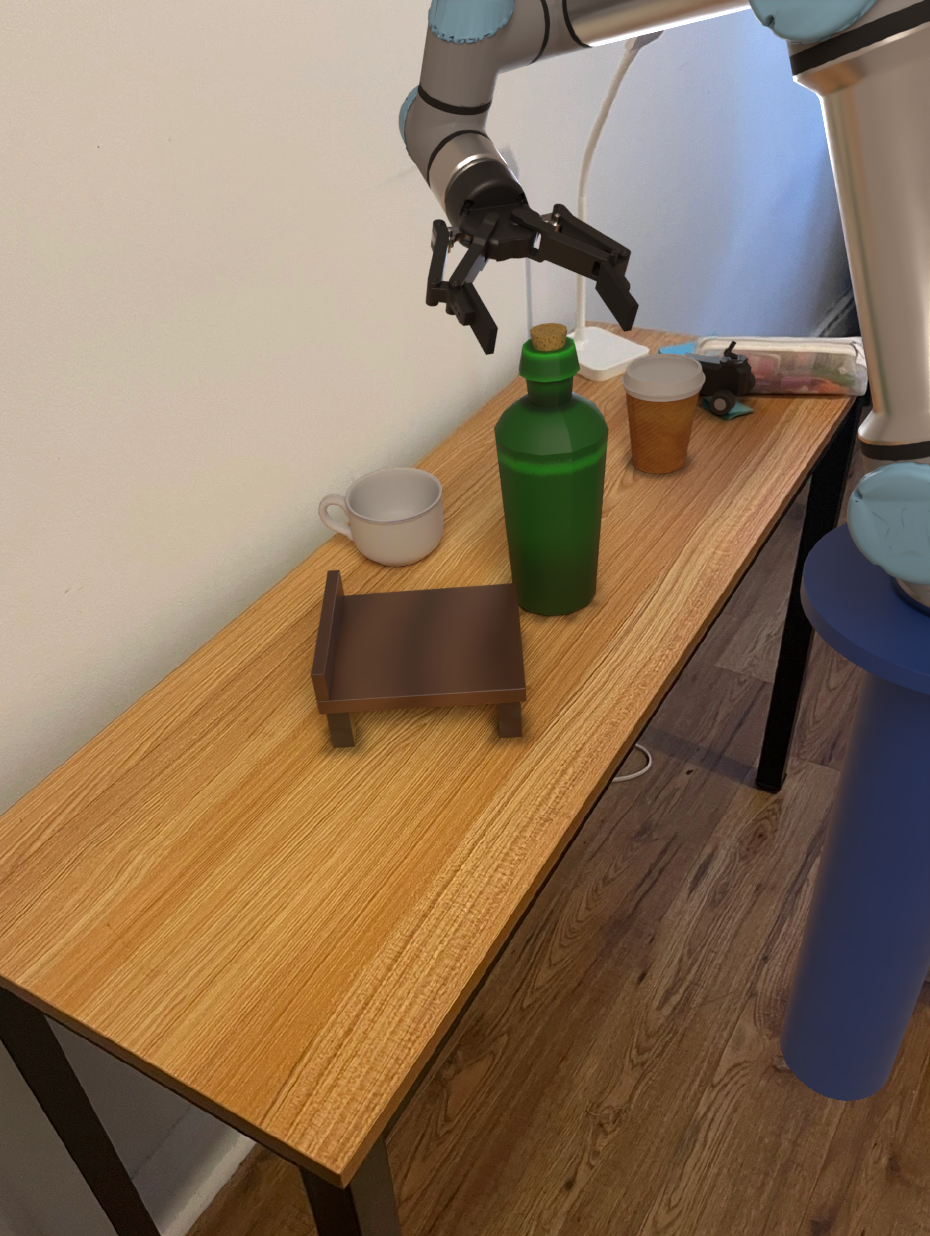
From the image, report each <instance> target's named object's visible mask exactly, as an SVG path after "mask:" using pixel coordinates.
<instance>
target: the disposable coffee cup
mask: <svg viewBox="0 0 930 1236" xmlns="http://www.w3.org/2000/svg"><path fill="white" fill-rule="evenodd" d="M704 383H705V375H704V373H703V371H702V366H701V364H700V363H699V361H697V360H695V359H694V358H691V357H688V356H685V355H684V354H679V353H654V354H647V355H644V356H641V357H638V358H636V359H633V360H632V361H630V362H629V363H628V364H627V366H626V367H625V372H624V374H623V375H622V376H621V385H622V387H623V390H624V391H625V396H626V397H625V399H626V407H627V418H628V420H627V421H628V428H629V437H630V447H631V457H632V459H631V460H632V465H633V466H634V467H635V468H636V469H637V470H639V471H641V472H643V473H647V474H653V475H654V474H655V475H657V474H659V475H660V474H662V475H663V474H669V473H673V472H675V471H678V470H680V469H681V468H683V467H684V466H685V463H686V458H687V453H688V449H689V443H690V439H691V435H692V430H693V425H694V420H695V415H696V410H697V406H698V401H699V397H700V394H699V392H700V390H701V388H702V386H703V384H704Z"/></svg>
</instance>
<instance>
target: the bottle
mask: <svg viewBox="0 0 930 1236" xmlns="http://www.w3.org/2000/svg"><path fill="white" fill-rule="evenodd" d="M529 333H530V338H529V339H527V340H526V341H525V342H524V343H523V344H522V346H521V353H520V358H519V364H518V373H519V376H520V377H522V378H523V379H525V383H526V384H525V385H526V391H527V393H526V394H524V395H522V396H521V397H519V398H518V399H516V400H514V401H513V402H512V403H511V404H510V405H509V406H507V408H506V409H505V410H504V411H502V413H501V414H500V416H499V419H498V420H497V421H496V423H495V425H494V427H493V432H494V440H495V448H496V456H497V464H498V473H499V481H500V491H501V499H502V507H503V516H504V523H505V524H504V525H505V533H506V541H507V550H508V558H509V566H510V576H511V583H516V586H517V596H518V606H520V607H521V608H523V609H524V610H526V611H527V612H531V613H535V614H538V615H544V616H557V615H559V616H560V615H568V614H569V615H571V614H572V613H574V612H576V611H579V610H580V609H582V608H584V607H587V606H589V604H590V602H591V601H592V600H593V598H594V597H595V595H596V593H597V580H598V579H597V578H598V569H599V568H598V567H599V555H600V545H601V543H600V542H601V531H602V530H601V529H602V518H603V506H604V505H603V504H604V494H605V492H604V491H605V479H606V467H607V455H608V441H609V426H608V423H607V420H606V418H605V415H604V414H603V413H602V411H601V409H600V408H599V407H598V405H597V404H596V403H595V402H594V401H592V400H591V399H588V398H586V397H585V396H583V395H581V394H579V393H577V392H575V391H573V386H574V377H575V375H577V374H578V372H580V371H581V366H580V360H579V356H578V352H577V347H576V343H575V341H574V339H573V338H571V337H569V336H567V335H568V327H567V325H564V324H562V323H556V322H548V323H540V324H537V325H534V326H532V327H531V328H530V329H529Z"/></svg>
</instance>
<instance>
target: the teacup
mask: <svg viewBox="0 0 930 1236" xmlns="http://www.w3.org/2000/svg"><path fill="white" fill-rule="evenodd" d="M345 492H346V493H345V496H344V495H343V494H339V493H329V494H327V495H325V496H324V497H322V499H321V500H320V501H319V503H318V508H317V509H318V510H317V511H318V516H319V519H320V521H321V522H322V524H323V525H324V526H325V527H326V528H328V529H330V530H332V531H334V532H335V533H338V534H340V535H342V536H345V537H346V538H347V539H348V540H349V541H351V542H354V545H355V546H356V548H357V549H358V551H359V552H360V553H361V554H362V556H363V557H365V558H366V559H368V560H370V561H373V562H375V563H378V564H379V565H383V566H386V567H395V568H396V567H405V566H409V565H413V564H416V563H418V562H420V561H421V560H423V559H424V558H425V557H426V556H428V555H429V554H431V553H432V552H433V551H434V550H435V549H436V548H437V547H438V546H439V544H440V542H441V540H442V537H443V533H444V527H445V526H444V525H445V524H444V522H445V521H444V505H443V504H444V503H443V485H442V483H441V481H440V479H439V478H437V477H436V476H435V474H432V473H430V472H429V471H426V470H423V469H420V468H418V467H417V468H416V467H409V466H393V467H392V466H391V467H385V468H381V469H377V470H374V471H371V472H368V473H366V474H363V475H362V476H360V477H358V479H356V480H355V481H354V482H352V483H351V484H350V486H349V487H348V488H347V490H346V491H345ZM329 506H338V507H339V508H340V509H341V510H342V511H343V513H344V514H345V516H346V517H347V518H348V522H349V524H346V523H342V522H341V521H338V520H337V519H335V518H333V516H331V515H330V513H329V512H328V507H329Z"/></svg>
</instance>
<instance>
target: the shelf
mask: <svg viewBox="0 0 930 1236" xmlns="http://www.w3.org/2000/svg"><path fill="white" fill-rule="evenodd" d="M520 619H521V618H520V609H519V604H518V596H517V586H516V583H512V582H509V583H497V584H496V583H495V584H483V585H469V586H455V587H440V588H427V589H414V590H401V591H400V590H399V591H386V592H385V591H384V592H374V593H373V592H372V593H371V592H370V593H359V594H358V593H357V594H345V591H344V585H343V581H342V574H341V570H340V569H329V570H327V572H326V578H325V585H324V590H323V597H322V603H321V609H320V616H319V622H318V629H317V634H316V635H317V636H316V640H315V647H314V652H313V658H312V665H311V671H310V678H311V682H312V687H313V693H314V697H315V702H316V706H317V710H318V713H319V715H325V716H326V720H327V724H328V729H329V734H330V738H331V743H332V748H333V749H337V748H338V749H339V748H352V747H353V748H354V747H356V741H357V727H356V722H355V717H354V713H364V712H366V713H367V712H380V711H381V712H382V711H396V710H397V711H398V710H411V709H412V710H413V709H415V710H416V709H427V708H429V709H430V708H447V707H460V706H461V707H462V706H478V705H493V704H494V705H495V704H496V705H497V717H498V718H497V719H498V731H499V733H498V735H499V739H504V738H505V739H507V738H508V739H510V738H522V737H523V723H522V703H525V702H527V701H528V700H527V684H526V682H527V681H526V674H525V662H524V651H523V640H522V632H521V631H522V630H521V620H520Z"/></svg>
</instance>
